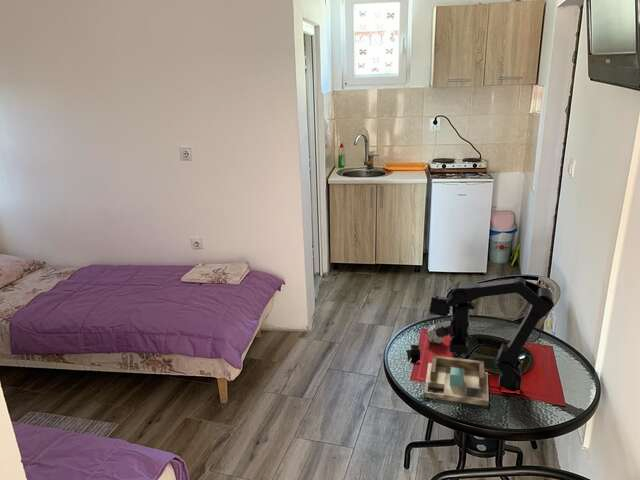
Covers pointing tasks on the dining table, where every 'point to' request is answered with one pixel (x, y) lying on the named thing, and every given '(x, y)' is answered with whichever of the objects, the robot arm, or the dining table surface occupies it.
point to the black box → (413, 354)
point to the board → (454, 393)
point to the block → (456, 377)
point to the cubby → (458, 366)
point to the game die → (434, 335)
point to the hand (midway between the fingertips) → (458, 356)
